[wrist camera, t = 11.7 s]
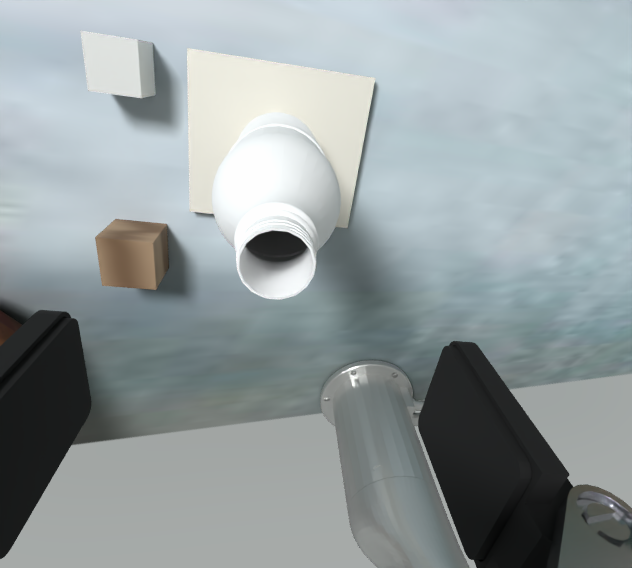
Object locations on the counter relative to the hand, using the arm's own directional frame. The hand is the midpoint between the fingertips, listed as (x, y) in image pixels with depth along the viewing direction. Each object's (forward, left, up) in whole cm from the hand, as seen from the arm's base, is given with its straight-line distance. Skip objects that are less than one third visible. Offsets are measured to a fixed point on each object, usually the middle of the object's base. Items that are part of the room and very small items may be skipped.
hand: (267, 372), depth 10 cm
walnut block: (+13, +11, -31) cm, 36 cm away
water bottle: (0, 0, -30) cm, 30 cm away
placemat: (0, 0, -31) cm, 31 cm away
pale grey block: (+13, -5, -31) cm, 34 cm away
